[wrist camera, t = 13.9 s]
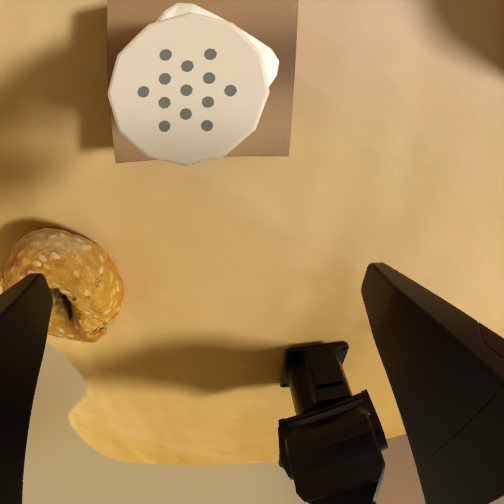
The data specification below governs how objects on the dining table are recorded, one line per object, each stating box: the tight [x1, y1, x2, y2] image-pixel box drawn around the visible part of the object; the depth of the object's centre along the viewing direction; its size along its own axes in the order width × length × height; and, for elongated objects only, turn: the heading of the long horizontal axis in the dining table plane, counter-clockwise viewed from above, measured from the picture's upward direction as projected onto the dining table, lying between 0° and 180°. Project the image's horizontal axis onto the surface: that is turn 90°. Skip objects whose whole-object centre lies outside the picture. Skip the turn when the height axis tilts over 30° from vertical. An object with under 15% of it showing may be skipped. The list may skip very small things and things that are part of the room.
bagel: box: [0, 228, 124, 343], centre depth 21 cm, size 10×11×5 cm
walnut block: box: [107, 0, 298, 163], centre depth 14 cm, size 9×9×3 cm
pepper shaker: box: [107, 3, 279, 166], centre depth 9 cm, size 4×4×10 cm
